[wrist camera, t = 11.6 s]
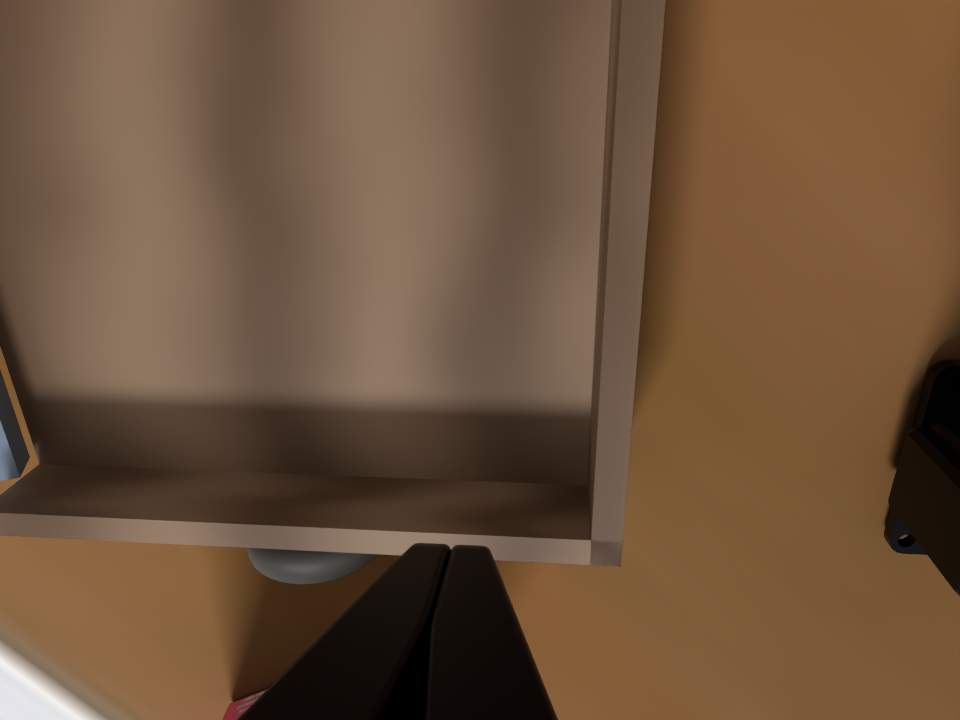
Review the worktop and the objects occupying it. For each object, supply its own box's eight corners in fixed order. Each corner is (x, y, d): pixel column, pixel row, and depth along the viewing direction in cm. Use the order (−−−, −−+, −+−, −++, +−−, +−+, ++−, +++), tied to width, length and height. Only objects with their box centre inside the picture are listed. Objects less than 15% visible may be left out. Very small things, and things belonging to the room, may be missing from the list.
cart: (651, -196, 15) (689, -291, 11) (606, 504, 22) (617, 604, 18) (-95, -152, 17) (-305, -220, 13) (94, 483, 24) (2, 570, 20)
